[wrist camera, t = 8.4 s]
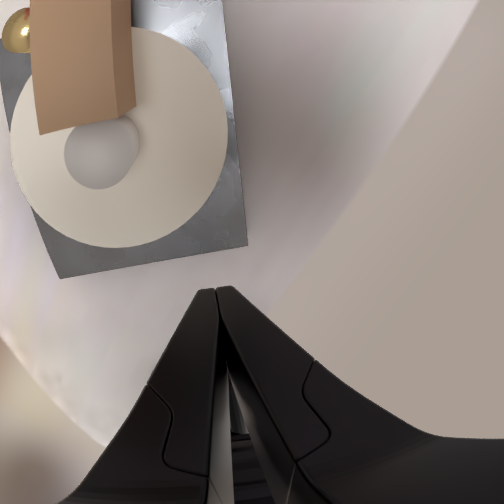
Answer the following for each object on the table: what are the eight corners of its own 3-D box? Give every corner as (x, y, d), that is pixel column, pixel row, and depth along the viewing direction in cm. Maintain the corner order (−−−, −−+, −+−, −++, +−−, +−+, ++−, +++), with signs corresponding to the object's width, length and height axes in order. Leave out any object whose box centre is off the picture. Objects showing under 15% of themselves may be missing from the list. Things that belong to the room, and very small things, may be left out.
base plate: (243, 233, 20) (248, 245, 19) (66, 266, 19) (59, 279, 18) (216, -16, 12) (219, -24, 11) (8, 41, 11) (-4, 41, 10)
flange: (219, -19, 11) (234, -57, 7) (230, 224, 18) (246, 279, 13) (8, 28, 9) (-50, 23, 5) (47, 248, 16) (14, 304, 12)
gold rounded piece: (71, 46, 11) (43, 42, 8) (37, 59, 11) (3, 60, 8) (67, 12, 10) (40, 0, 7) (33, 25, 10) (0, 19, 7)
